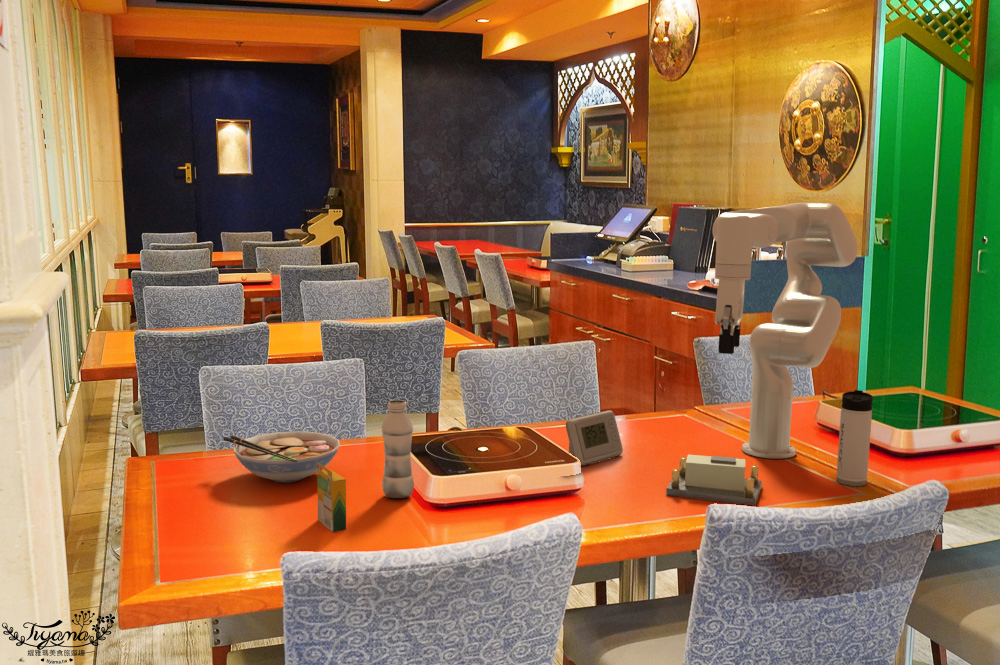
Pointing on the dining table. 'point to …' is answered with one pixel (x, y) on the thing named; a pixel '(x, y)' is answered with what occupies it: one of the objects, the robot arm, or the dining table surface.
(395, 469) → the plastic bottle
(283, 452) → the ramen bowl
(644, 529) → the dining table surface
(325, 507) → the crayon box
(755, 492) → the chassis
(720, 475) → the cream rectangular block
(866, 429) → the travel mug
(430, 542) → the dining table surface
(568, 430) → the digital clock
